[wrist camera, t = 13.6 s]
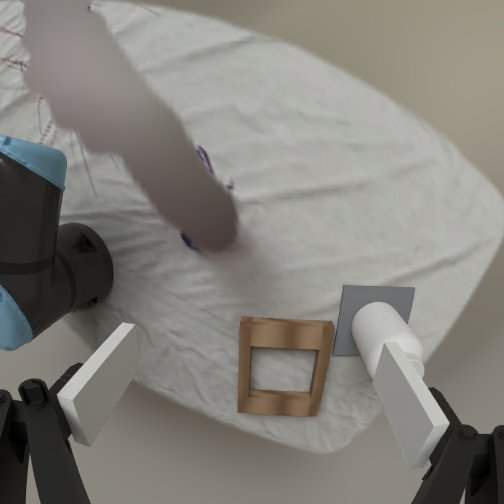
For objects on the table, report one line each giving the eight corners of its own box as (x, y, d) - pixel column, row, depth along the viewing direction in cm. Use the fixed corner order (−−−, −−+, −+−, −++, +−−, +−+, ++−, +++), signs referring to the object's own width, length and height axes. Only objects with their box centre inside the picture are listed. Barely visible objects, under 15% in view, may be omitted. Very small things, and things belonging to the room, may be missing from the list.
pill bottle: (354, 351, 47) (377, 410, 32) (346, 308, 45) (371, 361, 31) (399, 337, 46) (434, 389, 31) (393, 293, 44) (434, 339, 30)
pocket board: (239, 403, 52) (237, 412, 49) (241, 316, 47) (239, 323, 45) (316, 407, 51) (317, 416, 48) (332, 321, 47) (334, 328, 44)
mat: (332, 353, 48) (333, 355, 47) (343, 285, 45) (344, 286, 45) (398, 352, 47) (399, 354, 47) (413, 287, 44) (415, 288, 44)
